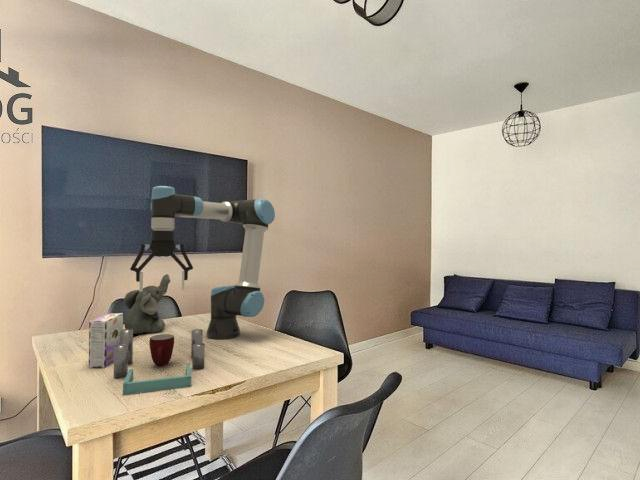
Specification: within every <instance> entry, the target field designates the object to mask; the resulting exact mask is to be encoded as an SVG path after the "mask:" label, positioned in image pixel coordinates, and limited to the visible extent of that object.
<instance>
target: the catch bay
mask: <svg viewBox="0 0 640 480" xmlns="http://www.w3.org/2000/svg"><path fill="white" fill-rule="evenodd" d="M185 364H186V365H185V366H186V369H185V372H186V373H185V374H186V375H181V376H172V377H171V376H170V377H163V378H154V379H153V378H151V379H145V380H144V379H143V380H137V381H133V380H134V368H129V369H128V373H127V376H126V377H124V381H123V383H122V395H123V396H124V395H132V394H133V395H135V394H139V393H140V392H141V393H148V391H149V392H156V391H155V390H157V391H163V389H165V390H172V389H179V387H181V388H186V387H185V386H188V387H192V371H191V370H192V369H191V368H192V367H191V363H190V362H186V363H185ZM141 393H140V394H141Z"/></svg>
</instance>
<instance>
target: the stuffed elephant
mask: <svg viewBox="0 0 640 480" xmlns="http://www.w3.org/2000/svg"><path fill="white" fill-rule="evenodd" d="M170 283H171V278H170V275H169V273H168V274H165V275H163V276H162V278H161V280H160V283H159V286H156V285H147V286H145V287H143V291H142V292H139V291H140V289H135V290H131V291H129V292H127V293H126V294H125V295H124V298H123V302H124V305H125V307H126V308H127V309H129V311H128V314H127V315H126V317H125V320H124V323H123V326H124V328H125V329H133V333H138V334H137V335H141V334H143V333H148V334H149V333H150V334H154V333H158V332H160V331H162V330H164V329H165V327H166V323H165V320H164V319H162V318H160V316H159V315H160V314H159V313H158V303H159V302H160V301H161V299H162V298H163V297H164V296H165V295H166V293H167V292H168V288H169V284H170Z"/></svg>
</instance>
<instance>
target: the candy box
mask: <svg viewBox="0 0 640 480" xmlns="http://www.w3.org/2000/svg"><path fill="white" fill-rule="evenodd" d="M88 323H89V326H88V330H89V331H88V333H89V334H88V368H89V369H93V368H94V369H104V368H107V367H108V366H110V365H111V364H114V346H115V345H118V344H120V331H121V330H124V313H123V312H118V313H112V312H111V313H107V314H104V315H101V316H99V317H97V318H94V319H92V320H89V321H88Z"/></svg>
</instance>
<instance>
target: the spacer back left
mask: <svg viewBox="0 0 640 480" xmlns="http://www.w3.org/2000/svg"><path fill="white" fill-rule="evenodd" d="M203 334H204V333H203V329H201V328H198V329H197V328H196V329H192V330H191V337H190V338H191V343H190V345H191V346H190V347H191V351H190V355H191V356H190V357H191V358H192V345H193V344H197V343H203V336H204V335H203Z"/></svg>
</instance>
